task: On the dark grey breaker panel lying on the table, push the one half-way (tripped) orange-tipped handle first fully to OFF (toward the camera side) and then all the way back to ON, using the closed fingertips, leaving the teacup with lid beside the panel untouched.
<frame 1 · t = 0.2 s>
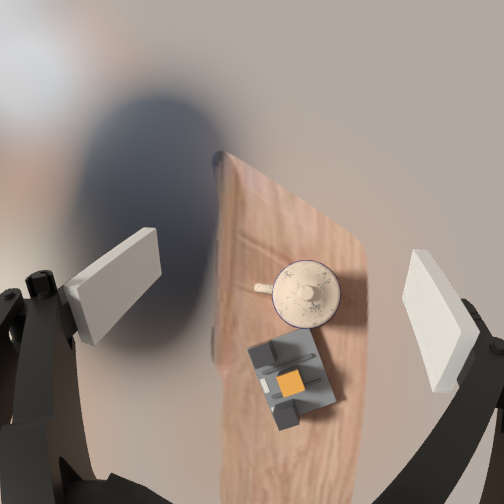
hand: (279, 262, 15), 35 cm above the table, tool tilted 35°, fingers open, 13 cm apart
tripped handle: (291, 380, 42), point 5 cm above the table, slide at 2.5 cm
panel: (292, 373, 47), on the table
teacup with lid: (296, 296, 49), on the table
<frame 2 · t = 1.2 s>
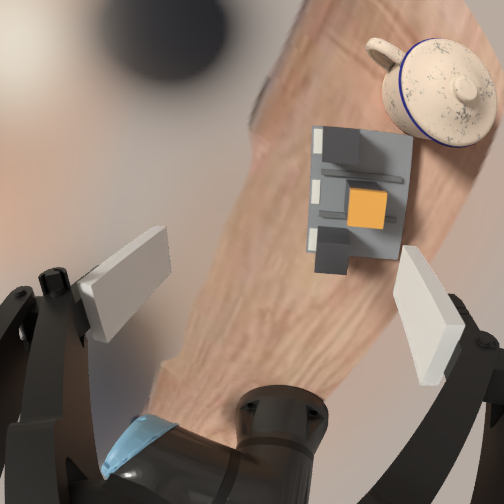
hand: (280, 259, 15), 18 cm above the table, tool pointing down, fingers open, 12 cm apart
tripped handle: (363, 202, 27), point 5 cm above the table, slide at 2.5 cm
panel: (357, 191, 31), on the table
teacup with lid: (408, 89, 26), on the table
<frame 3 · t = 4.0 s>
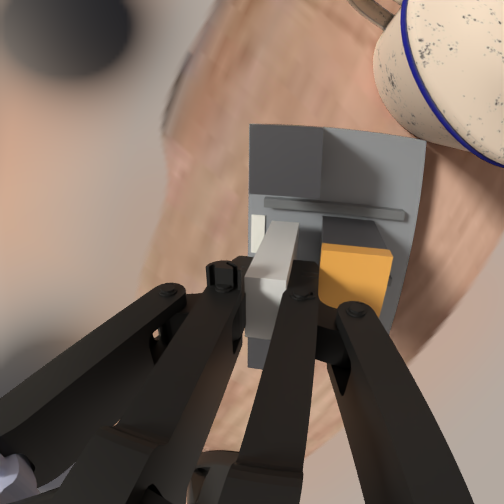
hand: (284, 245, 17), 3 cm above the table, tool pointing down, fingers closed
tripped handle: (348, 261, 15), point 5 cm above the table, slide at 1.7 cm, touching gripper
panel: (330, 229, 20), on the table
teacup with lid: (417, 63, 15), on the table
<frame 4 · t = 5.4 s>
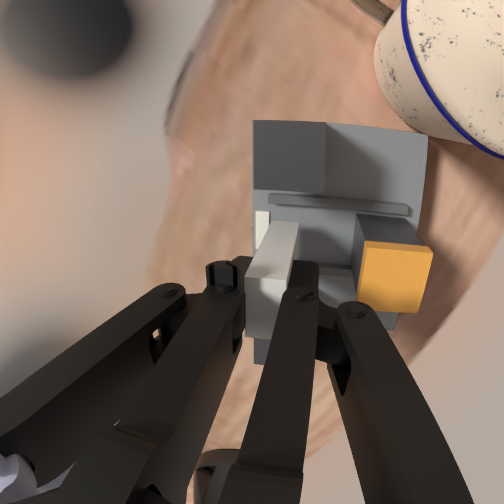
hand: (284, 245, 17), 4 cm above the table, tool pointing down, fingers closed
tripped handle: (385, 258, 15), point 5 cm above the table, slide at 0.0 cm
panel: (334, 225, 20), on the table
teacup with lid: (417, 59, 14), on the table
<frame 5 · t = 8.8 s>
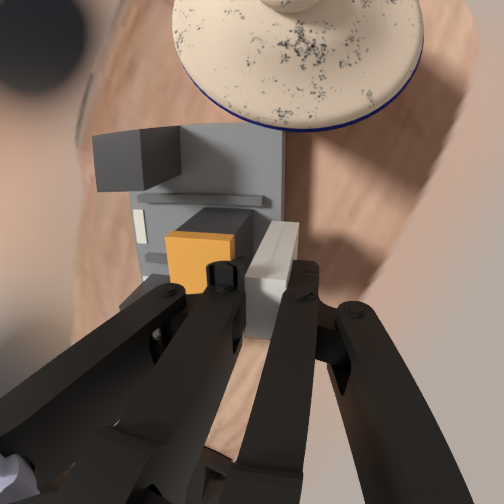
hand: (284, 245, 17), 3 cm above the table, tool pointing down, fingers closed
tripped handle: (215, 248, 17), point 5 cm above the table, slide at 0.6 cm, touching gripper
panel: (210, 220, 21), on the table
teacup with lid: (286, 47, 16), on the table
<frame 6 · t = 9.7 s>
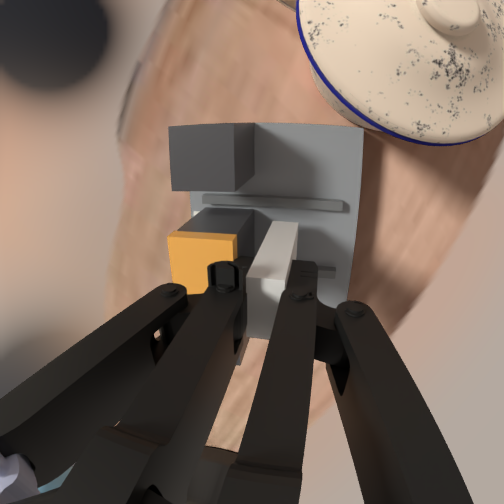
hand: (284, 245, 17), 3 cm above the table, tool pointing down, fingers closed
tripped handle: (217, 248, 17), point 5 cm above the table, slide at 5.0 cm, touching gripper, panel
panel: (275, 223, 20), on the table
teacup with lid: (358, 51, 15), on the table
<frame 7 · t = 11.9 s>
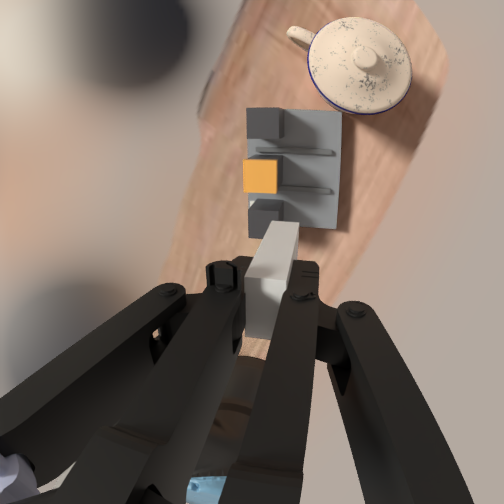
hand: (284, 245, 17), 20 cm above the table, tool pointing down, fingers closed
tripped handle: (264, 172, 31), point 5 cm above the table, slide at 5.2 cm, touching panel
panel: (295, 166, 34), on the table
teacup with lid: (340, 70, 29), on the table
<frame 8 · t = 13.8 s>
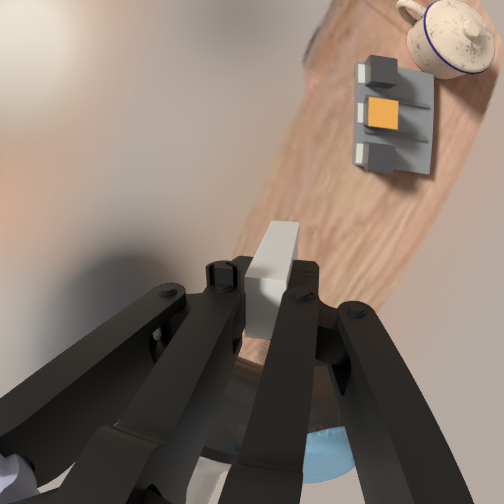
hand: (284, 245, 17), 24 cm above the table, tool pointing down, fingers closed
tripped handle: (379, 113, 30), point 5 cm above the table, slide at 5.2 cm, touching panel
panel: (392, 117, 34), on the table
teacup with lid: (426, 42, 28), on the table
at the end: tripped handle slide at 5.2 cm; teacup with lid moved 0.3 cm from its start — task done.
